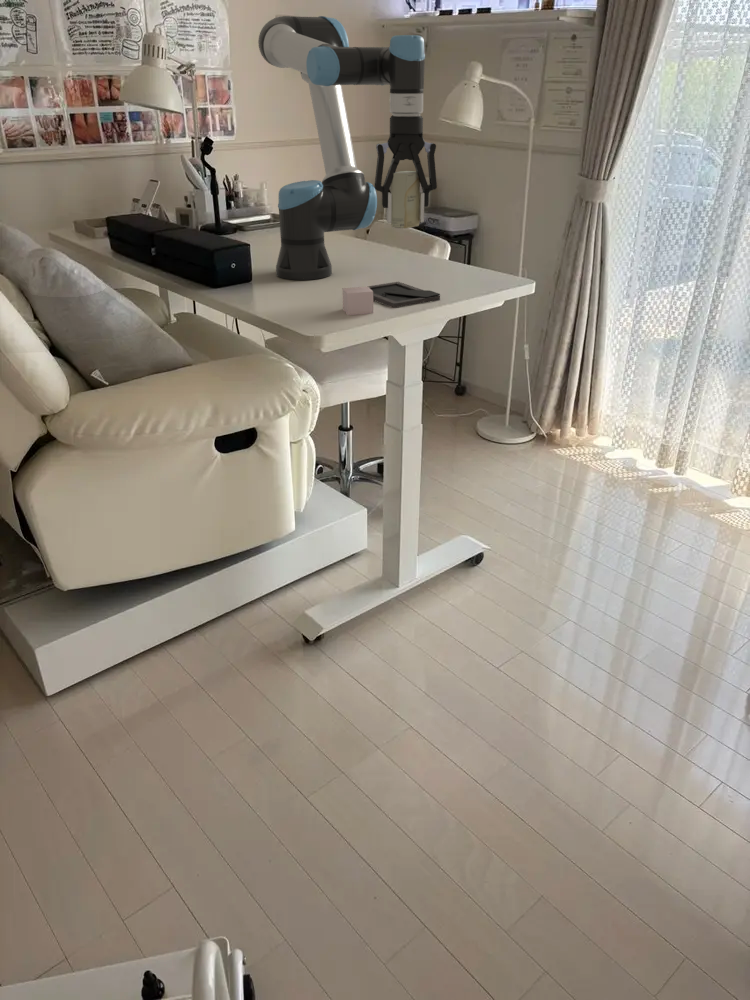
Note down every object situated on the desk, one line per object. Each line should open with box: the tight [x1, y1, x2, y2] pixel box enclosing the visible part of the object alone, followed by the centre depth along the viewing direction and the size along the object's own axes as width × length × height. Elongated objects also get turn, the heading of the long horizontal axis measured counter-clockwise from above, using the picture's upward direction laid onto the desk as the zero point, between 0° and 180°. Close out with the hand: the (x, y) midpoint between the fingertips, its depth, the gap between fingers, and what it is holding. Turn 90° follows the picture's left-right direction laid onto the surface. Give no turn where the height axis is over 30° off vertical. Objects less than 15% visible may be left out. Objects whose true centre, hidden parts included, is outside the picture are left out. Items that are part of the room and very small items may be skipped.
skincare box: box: [390, 170, 421, 230], centre depth 186 cm, size 6×4×12 cm
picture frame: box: [368, 281, 441, 309], centre depth 193 cm, size 13×2×18 cm
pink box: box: [341, 285, 374, 316], centre depth 180 cm, size 6×5×5 cm
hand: (405, 221), depth 188 cm, fingers closed on skincare box, 7 cm apart
